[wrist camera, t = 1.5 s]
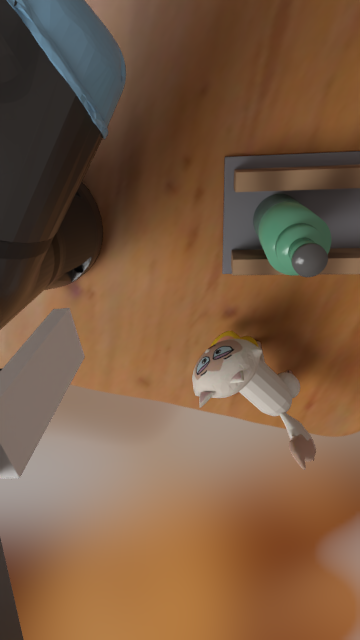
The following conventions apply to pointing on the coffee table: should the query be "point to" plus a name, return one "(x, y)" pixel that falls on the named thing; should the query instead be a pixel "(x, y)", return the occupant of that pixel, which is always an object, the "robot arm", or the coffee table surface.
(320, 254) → the bottle
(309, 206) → the mat
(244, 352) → the toy
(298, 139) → the coffee table surface
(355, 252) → the rest
